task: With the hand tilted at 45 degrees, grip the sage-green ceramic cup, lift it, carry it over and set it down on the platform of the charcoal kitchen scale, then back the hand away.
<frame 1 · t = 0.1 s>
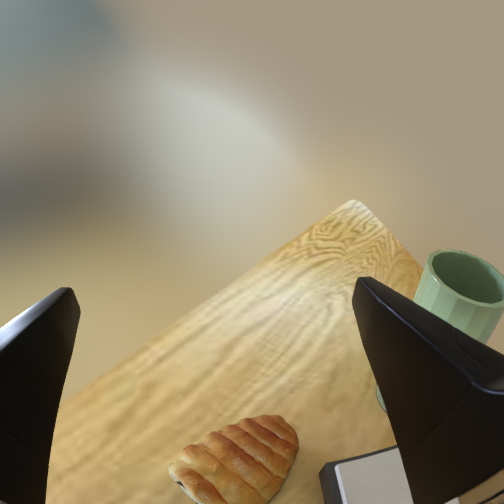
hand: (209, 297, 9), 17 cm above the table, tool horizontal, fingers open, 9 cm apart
cup: (409, 392, 22), on the table
pastry: (234, 473, 17), on the table
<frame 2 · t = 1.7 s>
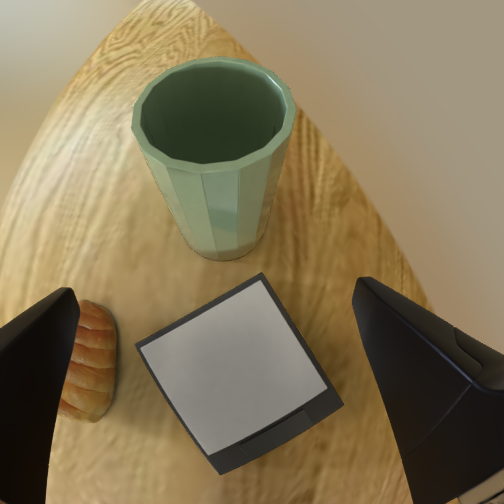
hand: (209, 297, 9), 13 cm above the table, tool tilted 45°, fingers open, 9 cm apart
cup: (222, 219, 24), on the table
pastry: (83, 365, 20), on the table
scale: (239, 376, 20), on the table
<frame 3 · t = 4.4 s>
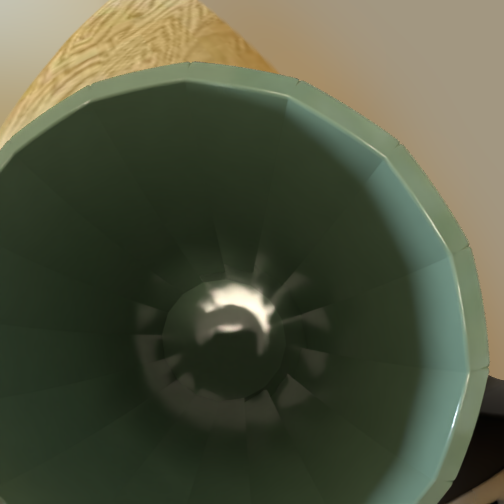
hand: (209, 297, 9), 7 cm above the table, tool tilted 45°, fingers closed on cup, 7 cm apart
cup: (223, 340, 15), on the table, touching gripper
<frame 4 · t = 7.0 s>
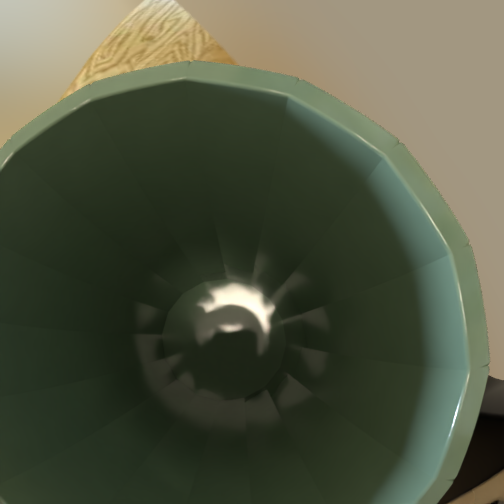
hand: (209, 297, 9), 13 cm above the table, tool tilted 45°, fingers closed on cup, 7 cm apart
cup: (223, 340, 15), point 7 cm above the table, touching gripper
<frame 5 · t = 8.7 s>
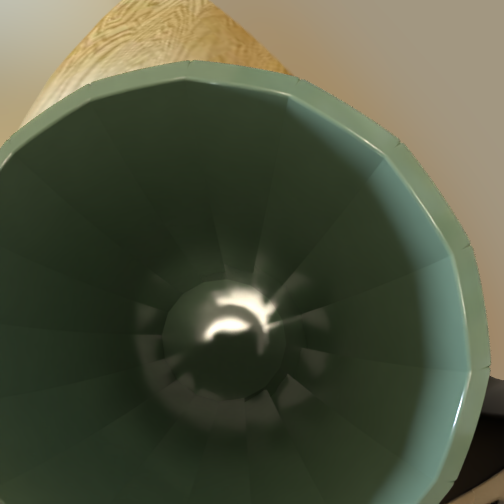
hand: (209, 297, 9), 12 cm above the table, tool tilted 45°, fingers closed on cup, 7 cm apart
cup: (223, 340, 15), point 5 cm above the table, touching gripper
when the fingers open (10 cm above the table, at t = 9.8 s): cup stays where it is, resting on scale.
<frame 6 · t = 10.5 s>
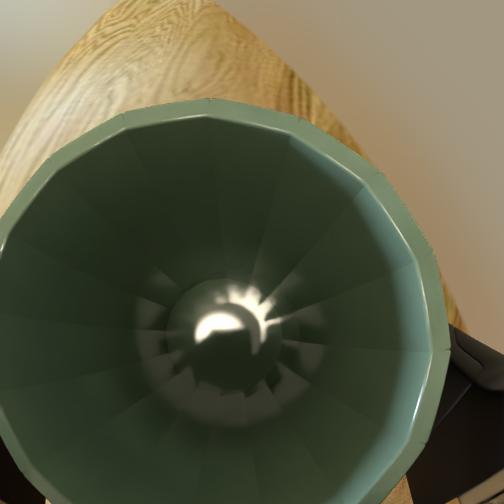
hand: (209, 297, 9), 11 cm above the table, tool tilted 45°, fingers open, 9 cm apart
cup: (224, 336, 16), point 3 cm above the table, touching scale
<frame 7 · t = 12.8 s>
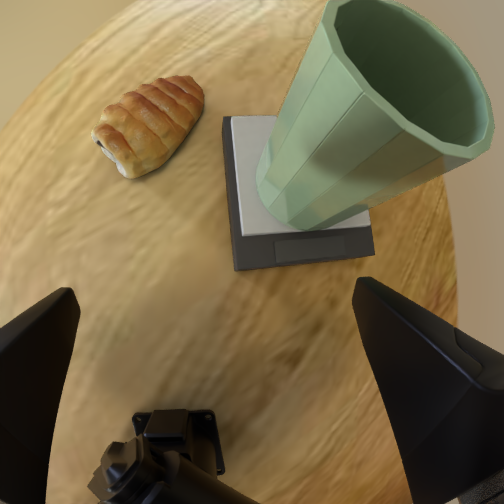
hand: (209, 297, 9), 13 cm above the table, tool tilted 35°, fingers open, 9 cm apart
cup: (305, 181, 19), point 3 cm above the table, touching scale
pastry: (148, 132, 22), on the table
scale: (292, 192, 23), on the table
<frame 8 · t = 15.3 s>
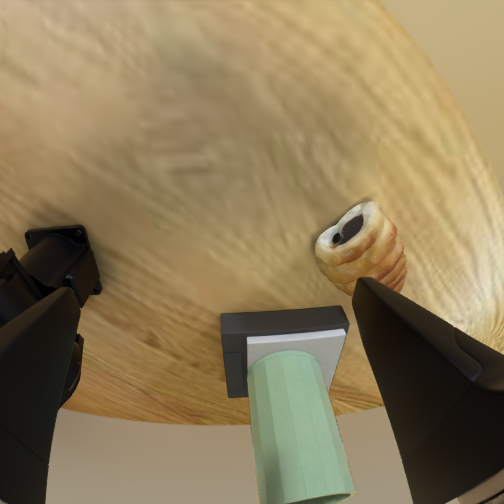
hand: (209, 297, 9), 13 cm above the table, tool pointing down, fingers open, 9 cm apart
cup: (283, 373, 26), point 3 cm above the table, touching scale
pastry: (360, 247, 24), on the table
scale: (280, 347, 29), on the table
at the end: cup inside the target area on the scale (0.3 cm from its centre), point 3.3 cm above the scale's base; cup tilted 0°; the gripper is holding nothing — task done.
